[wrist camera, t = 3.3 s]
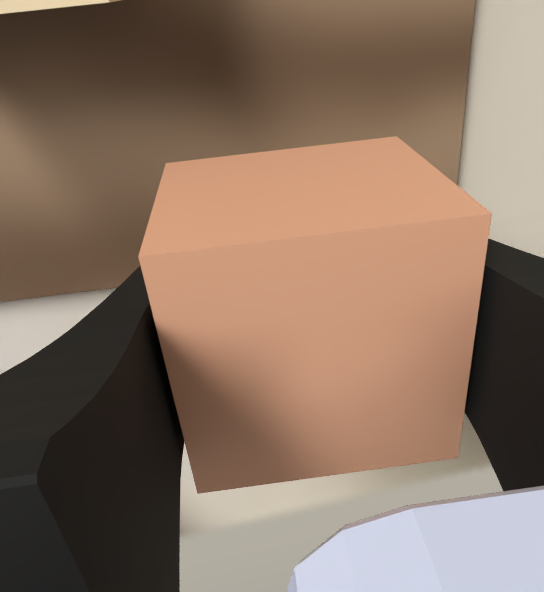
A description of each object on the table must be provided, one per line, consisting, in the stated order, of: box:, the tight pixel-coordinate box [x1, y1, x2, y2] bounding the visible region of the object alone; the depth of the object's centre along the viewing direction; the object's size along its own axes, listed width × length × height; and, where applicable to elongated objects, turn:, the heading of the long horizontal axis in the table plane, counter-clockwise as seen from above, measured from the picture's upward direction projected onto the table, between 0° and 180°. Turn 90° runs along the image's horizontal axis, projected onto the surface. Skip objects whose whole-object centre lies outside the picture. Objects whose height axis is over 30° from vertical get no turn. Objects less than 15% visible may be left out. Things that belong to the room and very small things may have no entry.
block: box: [138, 136, 492, 493], centre depth 10 cm, size 5×5×4 cm
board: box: [0, 0, 475, 302], centre depth 14 cm, size 15×20×1 cm
